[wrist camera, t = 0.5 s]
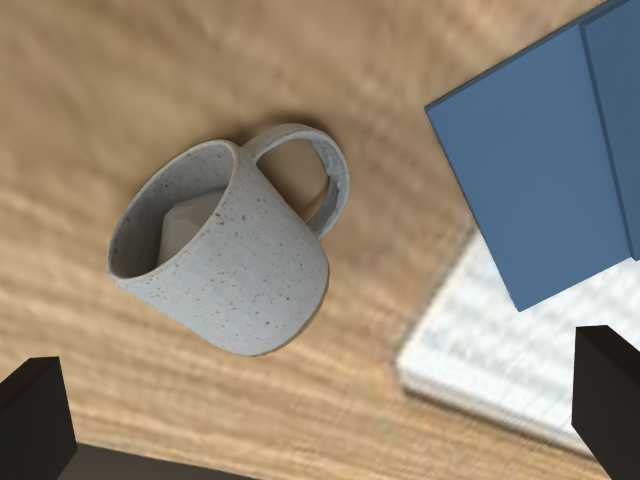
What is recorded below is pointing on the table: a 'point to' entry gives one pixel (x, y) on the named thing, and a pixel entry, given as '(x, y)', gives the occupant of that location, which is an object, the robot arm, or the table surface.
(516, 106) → the blue flat rectangular panel
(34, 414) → the robot arm
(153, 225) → the ceramic mug
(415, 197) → the table surface
